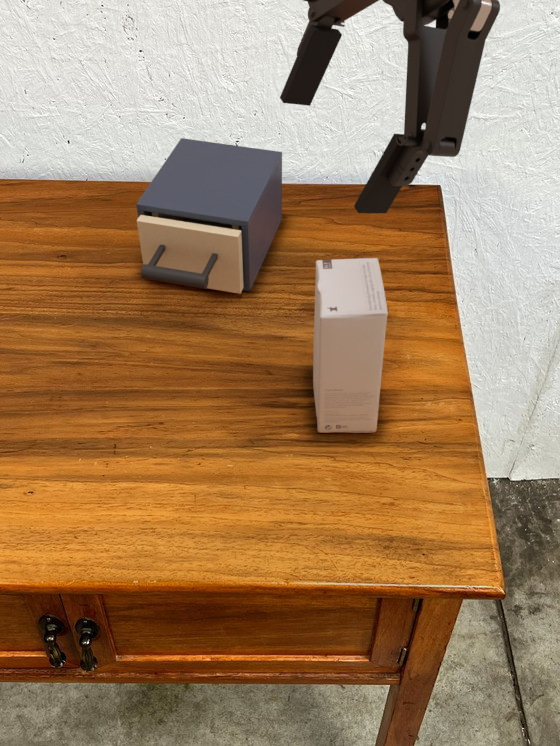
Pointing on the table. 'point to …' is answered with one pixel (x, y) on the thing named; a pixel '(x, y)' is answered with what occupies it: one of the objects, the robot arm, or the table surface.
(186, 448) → the table surface
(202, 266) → the drawer
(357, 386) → the cosmetic box
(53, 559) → the table surface
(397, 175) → the robot arm
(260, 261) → the cabinet
